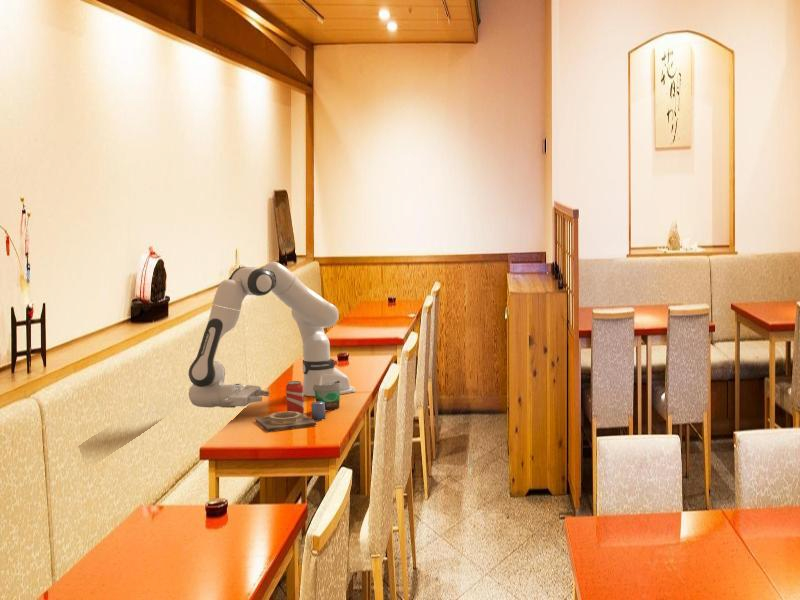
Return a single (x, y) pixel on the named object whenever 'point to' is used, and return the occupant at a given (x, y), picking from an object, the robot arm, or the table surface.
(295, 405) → the beverage can
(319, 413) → the lavender rounded cylinder
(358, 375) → the table surface
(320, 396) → the food container
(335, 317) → the robot arm
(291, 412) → the square plate with ring
